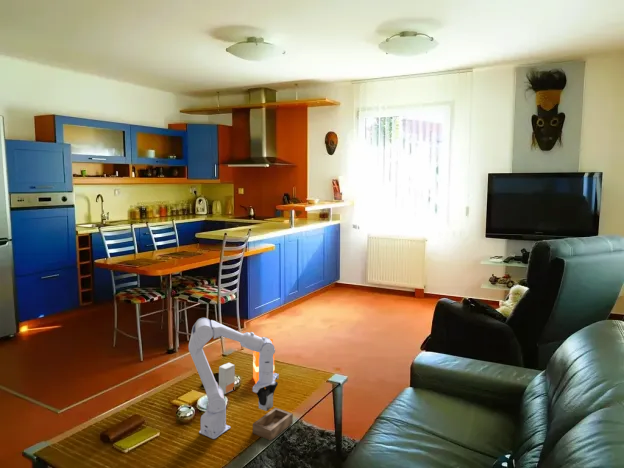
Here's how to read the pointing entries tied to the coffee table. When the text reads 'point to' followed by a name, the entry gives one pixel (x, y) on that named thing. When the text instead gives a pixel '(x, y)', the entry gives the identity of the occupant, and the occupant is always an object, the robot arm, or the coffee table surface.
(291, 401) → the coffee table surface
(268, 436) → the well block
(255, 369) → the orange juice
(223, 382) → the skincare box
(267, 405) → the bracket
